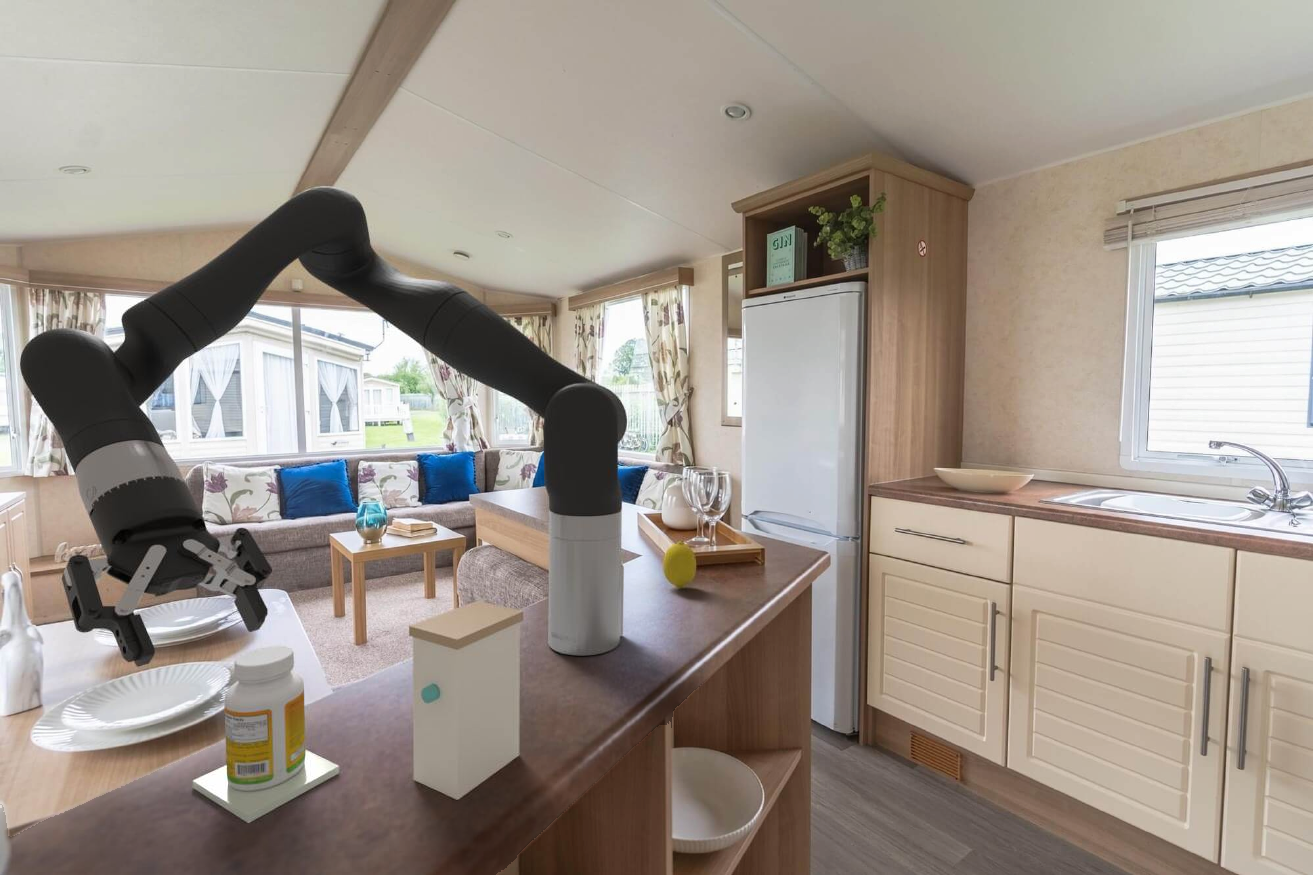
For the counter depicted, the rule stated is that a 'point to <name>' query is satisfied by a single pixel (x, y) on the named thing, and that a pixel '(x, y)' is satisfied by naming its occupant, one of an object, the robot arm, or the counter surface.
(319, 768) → the plate
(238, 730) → the supplement bottle
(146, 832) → the counter surface
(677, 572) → the lemon
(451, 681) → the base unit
